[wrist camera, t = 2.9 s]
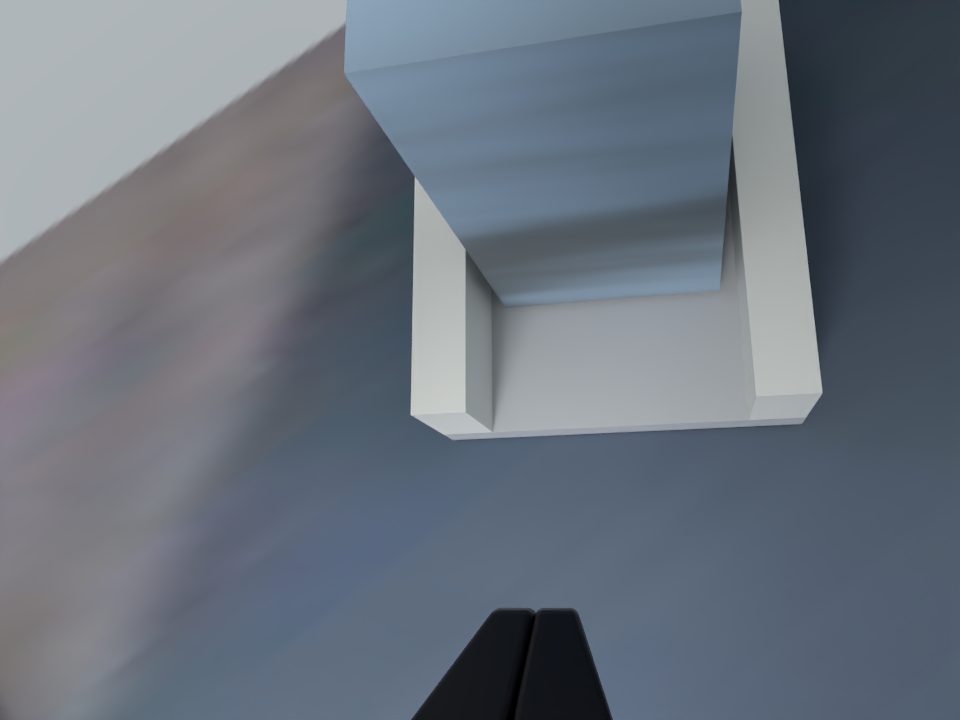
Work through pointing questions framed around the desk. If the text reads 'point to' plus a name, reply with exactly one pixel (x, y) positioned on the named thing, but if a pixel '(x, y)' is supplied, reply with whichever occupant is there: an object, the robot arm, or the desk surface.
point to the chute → (638, 310)
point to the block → (562, 134)
